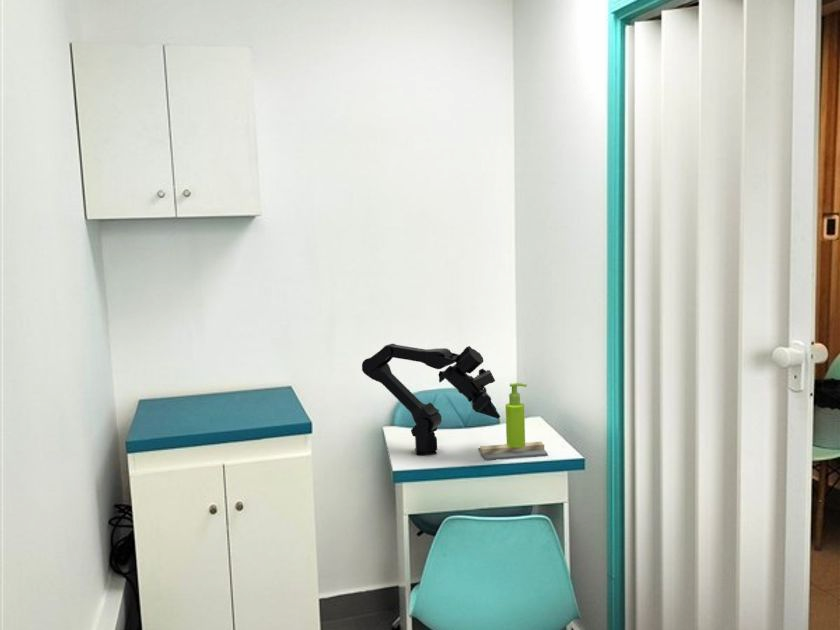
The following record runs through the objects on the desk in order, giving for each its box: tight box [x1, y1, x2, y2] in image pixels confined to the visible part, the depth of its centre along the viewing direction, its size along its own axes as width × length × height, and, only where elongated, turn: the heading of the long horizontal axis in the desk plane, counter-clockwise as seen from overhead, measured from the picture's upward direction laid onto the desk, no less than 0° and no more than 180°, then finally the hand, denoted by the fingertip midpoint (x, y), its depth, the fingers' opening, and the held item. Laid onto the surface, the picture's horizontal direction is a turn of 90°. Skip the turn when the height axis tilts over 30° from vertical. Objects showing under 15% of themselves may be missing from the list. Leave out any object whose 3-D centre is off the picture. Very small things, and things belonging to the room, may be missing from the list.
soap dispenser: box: [505, 382, 528, 448], centre depth 240 cm, size 6×7×20 cm
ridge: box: [479, 441, 545, 455], centre depth 241 cm, size 20×4×2 cm, turn 96°
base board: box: [477, 447, 549, 461], centre depth 241 cm, size 20×11×1 cm, turn 96°
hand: (497, 413), depth 240 cm, fingers open, 9 cm apart
